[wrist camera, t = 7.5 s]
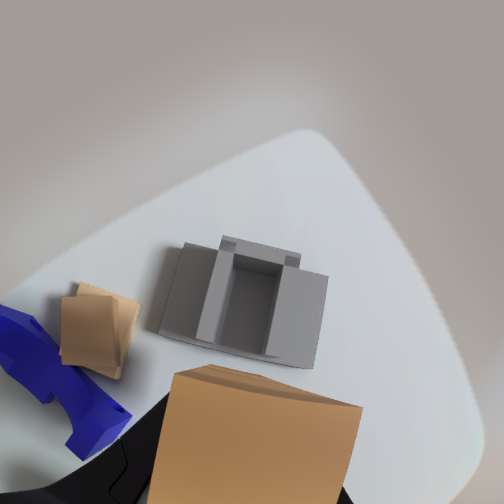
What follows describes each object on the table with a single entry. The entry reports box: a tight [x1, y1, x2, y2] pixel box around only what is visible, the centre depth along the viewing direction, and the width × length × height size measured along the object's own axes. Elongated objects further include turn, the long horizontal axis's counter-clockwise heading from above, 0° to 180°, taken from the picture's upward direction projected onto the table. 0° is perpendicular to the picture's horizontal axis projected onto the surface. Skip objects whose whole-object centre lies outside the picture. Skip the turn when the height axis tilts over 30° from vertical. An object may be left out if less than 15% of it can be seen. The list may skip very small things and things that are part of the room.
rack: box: [158, 235, 329, 369], centre depth 21 cm, size 7×11×4 cm, turn 77°
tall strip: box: [147, 364, 363, 504], centre depth 8 cm, size 4×2×12 cm, turn 167°
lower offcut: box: [59, 282, 142, 379], centre depth 21 cm, size 6×5×2 cm
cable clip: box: [0, 305, 132, 461], centre depth 17 cm, size 12×4×6 cm, turn 55°
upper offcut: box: [61, 296, 121, 367], centre depth 19 cm, size 5×4×2 cm
